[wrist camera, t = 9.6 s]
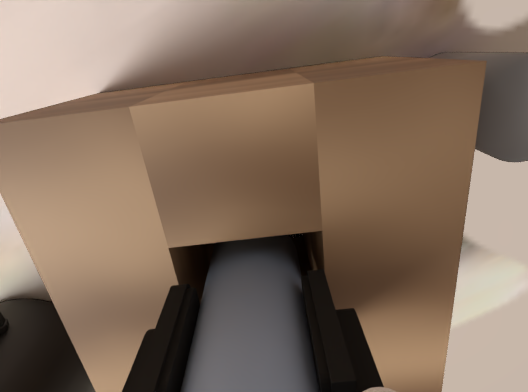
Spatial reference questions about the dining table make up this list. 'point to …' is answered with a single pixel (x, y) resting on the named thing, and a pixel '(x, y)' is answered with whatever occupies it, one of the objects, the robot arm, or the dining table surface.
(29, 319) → the mug
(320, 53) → the dining table surface
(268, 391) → the tall pin
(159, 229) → the hole block
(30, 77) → the dining table surface
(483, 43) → the dining table surface
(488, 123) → the short pin
